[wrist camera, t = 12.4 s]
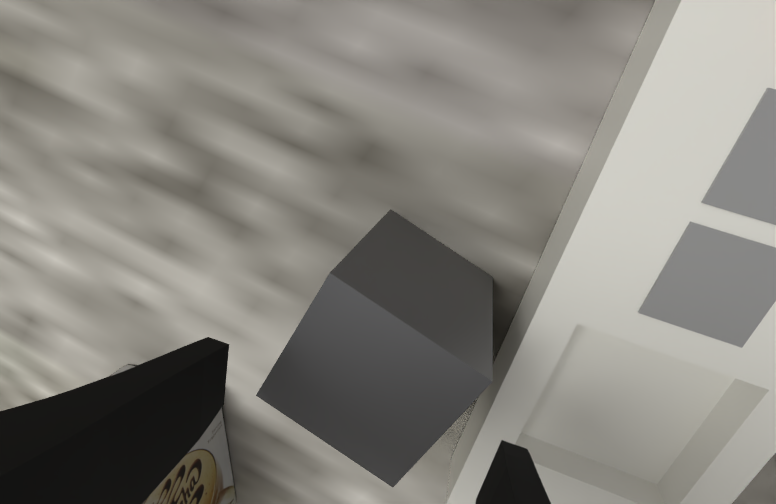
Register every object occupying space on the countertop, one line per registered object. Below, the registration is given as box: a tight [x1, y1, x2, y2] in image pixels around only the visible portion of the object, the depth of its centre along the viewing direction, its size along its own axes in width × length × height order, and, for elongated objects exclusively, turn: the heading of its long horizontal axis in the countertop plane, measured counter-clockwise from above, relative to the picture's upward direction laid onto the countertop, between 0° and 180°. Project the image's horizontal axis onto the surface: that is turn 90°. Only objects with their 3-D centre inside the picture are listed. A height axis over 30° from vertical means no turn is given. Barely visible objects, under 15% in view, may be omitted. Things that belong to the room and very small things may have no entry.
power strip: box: [446, 0, 776, 504], centre depth 14 cm, size 9×22×3 cm, turn 165°
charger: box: [256, 210, 493, 487], centre depth 15 cm, size 5×5×7 cm
